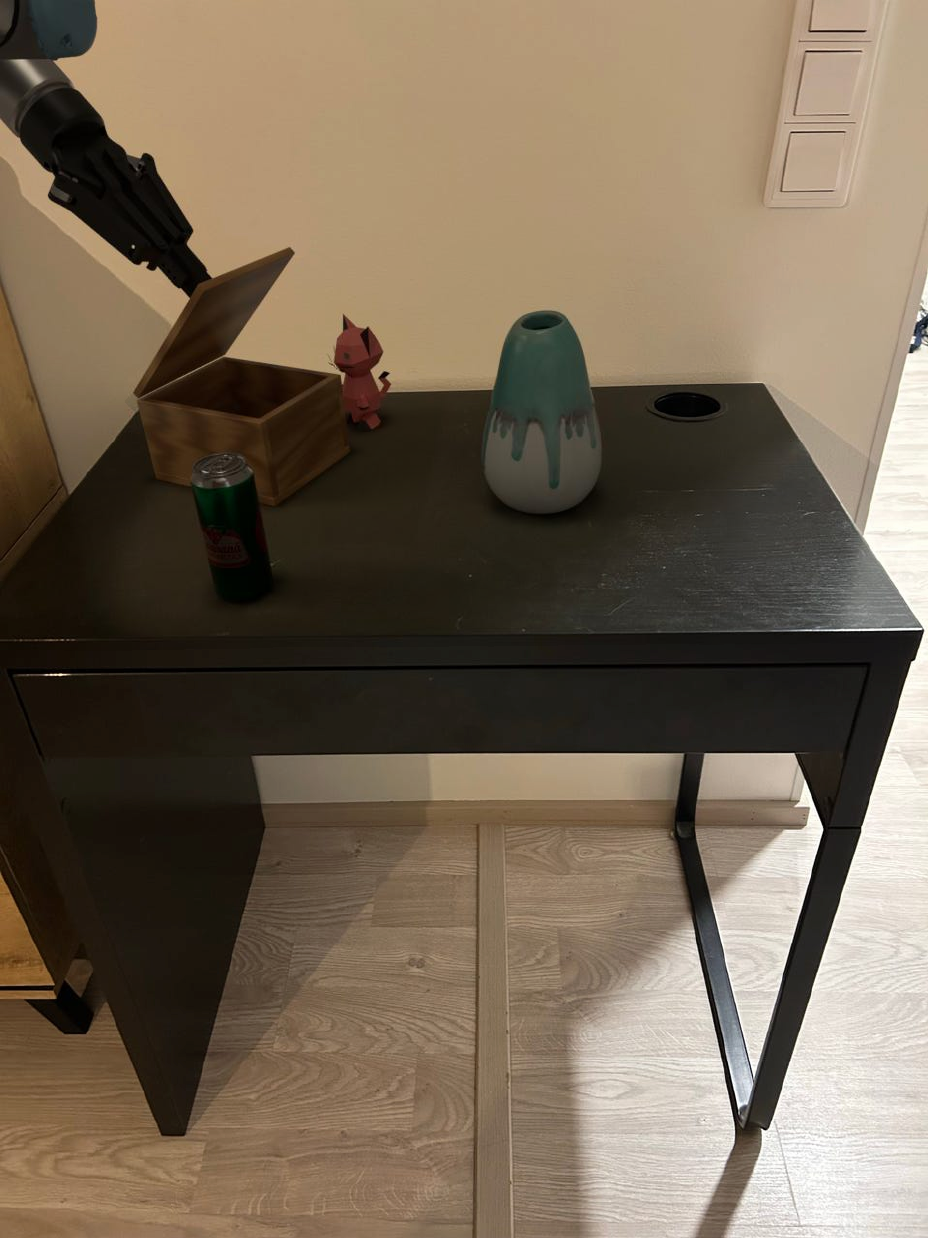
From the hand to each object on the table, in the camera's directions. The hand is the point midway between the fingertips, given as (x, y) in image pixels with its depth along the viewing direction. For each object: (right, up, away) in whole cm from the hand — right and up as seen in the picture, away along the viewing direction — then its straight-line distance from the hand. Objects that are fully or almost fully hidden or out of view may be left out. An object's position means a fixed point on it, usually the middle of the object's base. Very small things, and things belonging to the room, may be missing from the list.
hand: (216, 306), depth 95 cm
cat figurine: (+13, -8, +18) cm, 24 cm away
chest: (+2, -14, +9) cm, 17 cm away
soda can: (+6, -29, -11) cm, 31 cm away
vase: (+32, -19, 0) cm, 38 cm away
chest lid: (0, -2, +1) cm, 2 cm away
